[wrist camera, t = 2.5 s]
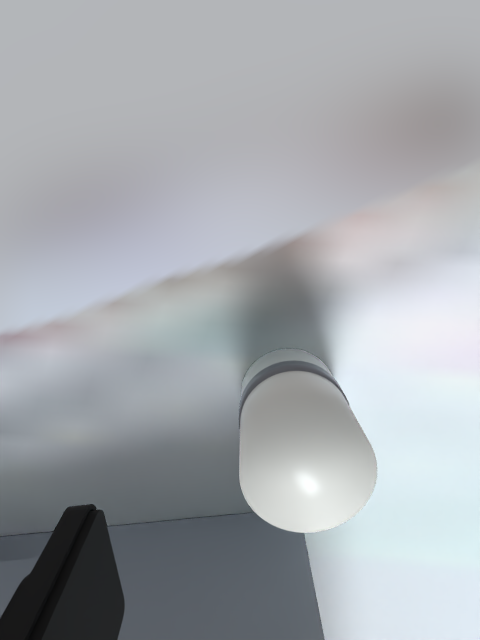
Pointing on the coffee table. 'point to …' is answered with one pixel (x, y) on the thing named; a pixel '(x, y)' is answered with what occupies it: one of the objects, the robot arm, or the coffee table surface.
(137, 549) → the housing
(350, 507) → the peg
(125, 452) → the coffee table surface
